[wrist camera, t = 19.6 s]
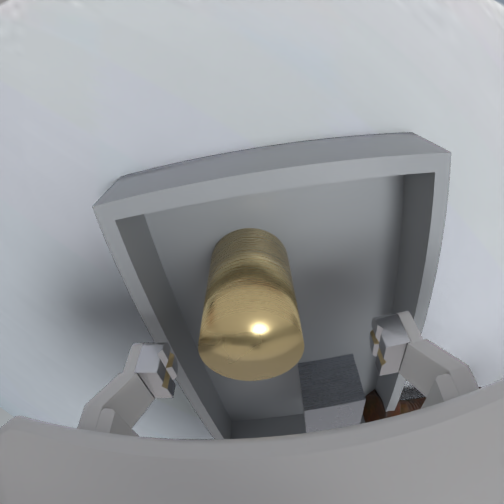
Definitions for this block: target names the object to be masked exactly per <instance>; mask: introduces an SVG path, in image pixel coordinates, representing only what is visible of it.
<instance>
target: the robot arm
mask: <svg viewBox="0 0 504 504" xmlns="http://www.w3.org/2000/svg"><path fill="white" fill-rule="evenodd" d="M371 325H372V328H373V330H372V331H371V332H370V337H369V339H370V348H371V352H372V355H374V356H375V357H376V362H375V364H376V367H377V370H378V373H379V376H382V375H387V374H392V373H397V372H399V374H400V375H402V376H403V377H404V378H405V379H406V380H407V381H408V382H409V383H411V384H412V385H413V386H414V387H415V388H416V389H417V390H418V391H420V392H421V393H422V394H423V395H424V396H425V397H426V399H425V401H424V403H423V405H422V407H421V409H418V410H415V411H411V412H408V413H404V414H400V415H397V416H393V417H389V418H384V419H380V420H376V421H371V422H367V423H362V424H357V425H352V426H347V427H341V428H335V429H329V430H323V431H316V432H309V433H301V434H293V435H283V436H273V437H260V438H243V439H167V438H151V437H139V435H138V434H137V433H136V432H135V431H134V430H133V429H132V427H133V426H134V425H135V424H136V422H137V421H138V420H139V419H140V417H141V416H142V415H143V414H144V412H145V411H146V410H147V408H148V407H149V406H150V405H151V403H152V402H153V401H154V400H155V399H154V398H173V395H174V390H175V383H174V382H173V380H174V379H175V378H176V377H177V373H178V363H177V359H176V357H175V355H174V354H172V353H171V352H170V350H171V347H170V345H169V344H168V343H167V342H158V343H134V344H133V345H132V346H131V349H130V351H129V354H128V357H127V360H126V364H125V367H124V370H123V373H119V374H118V375H117V376H116V377H115V378H114V379H113V380H112V381H110V382H109V383H108V384H107V385H106V386H105V387H104V388H103V389H102V390H101V391H100V392H99V393H97V394H96V395H95V396H94V397H93V398H92V399H91V400H90V401H89V402H88V403H87V404H86V405H85V406H84V409H83V412H82V415H81V418H80V421H79V424H78V427H77V428H73V427H67V426H62V425H58V424H53V423H48V422H44V421H40V420H36V419H32V418H28V417H24V416H15V417H14V418H12V419H11V420H9V421H8V422H7V423H6V424H4V425H3V426H2V427H1V428H0V504H504V379H501V380H499V381H497V382H494V383H492V384H490V385H487V386H485V387H482V388H480V389H479V387H478V385H477V382H476V380H475V378H474V376H473V374H472V372H471V370H470V368H469V366H468V365H467V364H465V363H464V362H462V361H461V360H459V359H457V358H456V357H454V356H453V355H451V354H450V353H448V352H446V351H445V350H443V349H442V348H440V347H439V346H437V345H435V344H434V343H432V342H431V341H429V340H428V339H423V338H422V336H421V334H420V332H419V330H418V328H417V326H416V324H415V322H414V320H413V318H412V316H411V314H410V312H409V311H404V312H399V313H394V314H389V315H384V316H379V317H374V318H373V319H372V322H371Z"/></svg>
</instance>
